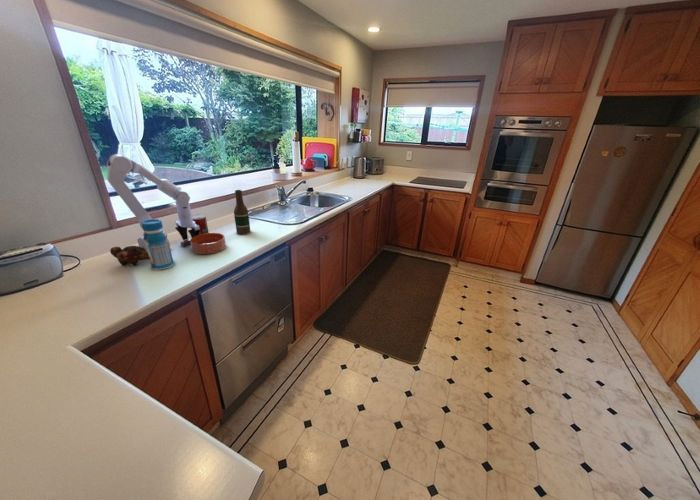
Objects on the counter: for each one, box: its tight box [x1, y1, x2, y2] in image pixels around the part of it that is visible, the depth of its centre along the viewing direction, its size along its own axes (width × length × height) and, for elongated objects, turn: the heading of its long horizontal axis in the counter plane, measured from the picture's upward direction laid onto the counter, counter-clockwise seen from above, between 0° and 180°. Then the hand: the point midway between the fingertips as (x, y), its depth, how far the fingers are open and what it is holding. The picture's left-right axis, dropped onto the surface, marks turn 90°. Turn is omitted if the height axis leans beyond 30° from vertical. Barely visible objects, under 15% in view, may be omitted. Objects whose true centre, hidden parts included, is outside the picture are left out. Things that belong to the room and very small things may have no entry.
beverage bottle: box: [141, 218, 175, 271], centre depth 116 cm, size 8×8×20 cm
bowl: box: [189, 232, 227, 255], centre depth 136 cm, size 15×15×6 cm
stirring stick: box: [180, 237, 192, 248], centre depth 142 cm, size 9×2×2 cm, turn 155°
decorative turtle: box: [109, 245, 150, 267], centre depth 120 cm, size 10×15×8 cm, turn 104°
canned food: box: [192, 213, 210, 235], centre depth 150 cm, size 8×8×11 cm
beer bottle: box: [233, 189, 251, 236], centre depth 154 cm, size 8×8×24 cm
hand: (190, 240), depth 142 cm, fingers open, 7 cm apart
